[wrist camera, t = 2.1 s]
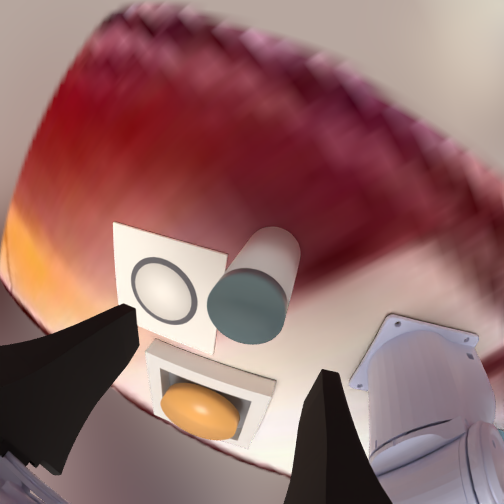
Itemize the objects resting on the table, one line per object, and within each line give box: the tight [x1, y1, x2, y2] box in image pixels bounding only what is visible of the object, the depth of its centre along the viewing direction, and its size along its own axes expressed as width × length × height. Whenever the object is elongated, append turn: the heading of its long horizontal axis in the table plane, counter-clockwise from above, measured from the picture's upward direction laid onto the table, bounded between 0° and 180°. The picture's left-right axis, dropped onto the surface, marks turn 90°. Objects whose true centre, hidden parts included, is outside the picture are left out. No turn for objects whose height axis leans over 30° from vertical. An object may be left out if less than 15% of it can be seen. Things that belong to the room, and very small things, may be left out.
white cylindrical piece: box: [207, 227, 301, 344], centre depth 16 cm, size 4×4×7 cm
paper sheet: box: [113, 222, 228, 355], centre depth 22 cm, size 10×10×1 cm
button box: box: [145, 339, 276, 449], centre depth 26 cm, size 12×12×2 cm
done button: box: [160, 383, 240, 440], centre depth 25 cm, size 8×8×2 cm
